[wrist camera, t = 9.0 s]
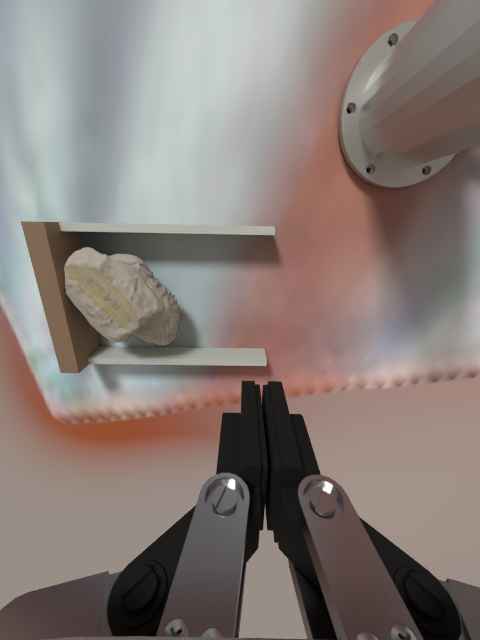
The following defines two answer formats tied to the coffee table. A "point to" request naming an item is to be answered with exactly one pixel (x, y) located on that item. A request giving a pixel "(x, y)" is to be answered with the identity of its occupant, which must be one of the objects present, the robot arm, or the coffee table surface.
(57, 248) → the channel
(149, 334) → the fossil replica
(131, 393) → the coffee table surface
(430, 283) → the coffee table surface
